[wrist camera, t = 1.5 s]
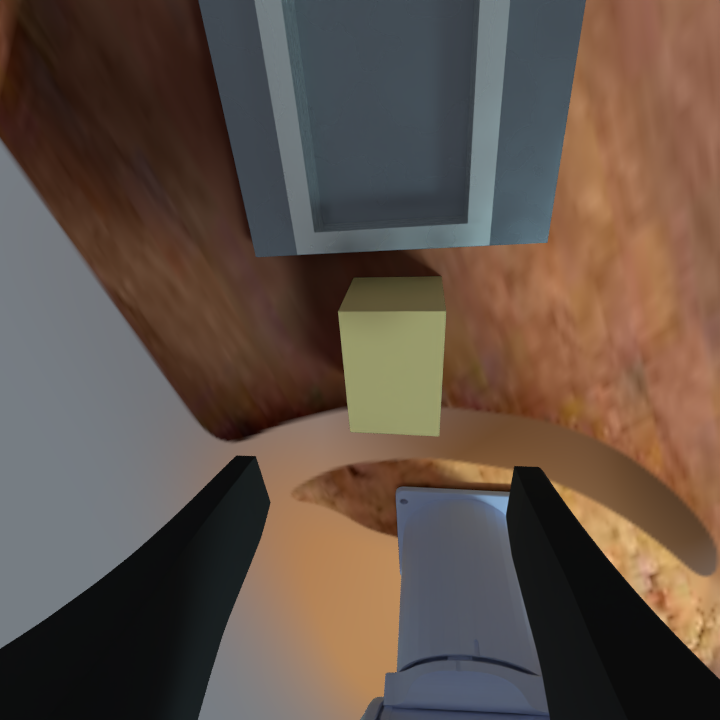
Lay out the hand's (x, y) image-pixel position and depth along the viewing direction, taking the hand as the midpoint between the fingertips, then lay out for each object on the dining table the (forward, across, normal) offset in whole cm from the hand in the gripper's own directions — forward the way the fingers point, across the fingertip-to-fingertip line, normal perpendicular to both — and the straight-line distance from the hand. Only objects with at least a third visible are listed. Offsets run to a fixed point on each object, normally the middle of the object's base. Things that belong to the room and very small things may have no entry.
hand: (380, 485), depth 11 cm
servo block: (+10, 0, 0) cm, 10 cm away
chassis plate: (+10, 0, -9) cm, 13 cm away
